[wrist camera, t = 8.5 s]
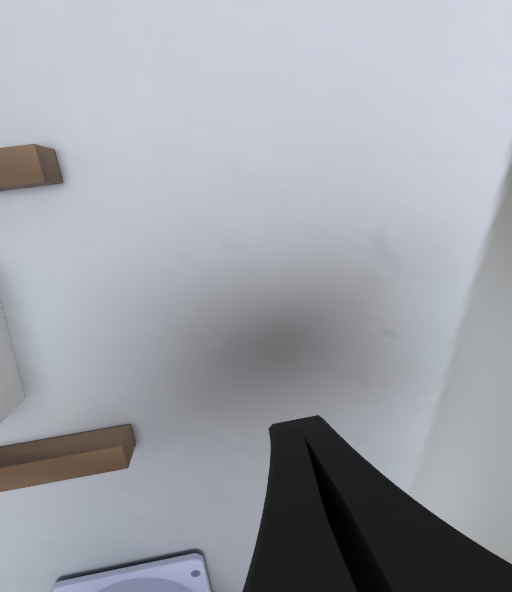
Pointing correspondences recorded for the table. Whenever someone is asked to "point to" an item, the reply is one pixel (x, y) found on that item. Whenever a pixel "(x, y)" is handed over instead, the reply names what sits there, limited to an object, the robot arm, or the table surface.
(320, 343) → the table surface
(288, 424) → the robot arm
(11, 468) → the u-shaped frame
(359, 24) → the table surface
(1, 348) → the white cube
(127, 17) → the table surface
